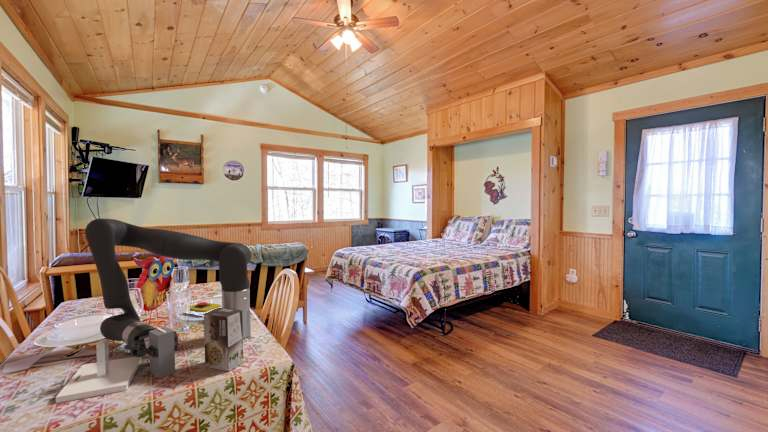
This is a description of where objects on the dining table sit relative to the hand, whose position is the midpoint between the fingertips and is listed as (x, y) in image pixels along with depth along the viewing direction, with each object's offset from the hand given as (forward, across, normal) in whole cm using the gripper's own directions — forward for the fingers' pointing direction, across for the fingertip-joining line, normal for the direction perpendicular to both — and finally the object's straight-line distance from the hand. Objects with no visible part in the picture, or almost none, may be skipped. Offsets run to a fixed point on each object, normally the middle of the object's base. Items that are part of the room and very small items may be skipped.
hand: (166, 350), depth 97 cm
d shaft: (-11, -11, +5) cm, 17 cm away
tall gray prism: (-3, 0, +7) cm, 8 cm away
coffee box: (+7, +13, +7) cm, 16 cm away
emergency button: (-45, +34, +8) cm, 57 cm away
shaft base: (-11, -11, +7) cm, 17 cm away
